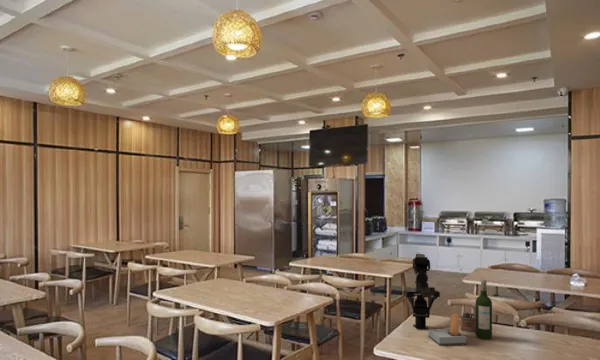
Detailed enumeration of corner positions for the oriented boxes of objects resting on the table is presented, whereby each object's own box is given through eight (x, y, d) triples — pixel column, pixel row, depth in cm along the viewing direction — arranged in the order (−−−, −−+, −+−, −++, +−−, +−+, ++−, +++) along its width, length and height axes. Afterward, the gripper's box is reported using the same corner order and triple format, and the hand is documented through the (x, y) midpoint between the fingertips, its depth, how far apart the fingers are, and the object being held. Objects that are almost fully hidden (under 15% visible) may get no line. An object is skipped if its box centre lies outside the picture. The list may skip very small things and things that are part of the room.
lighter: (460, 330, 226) (460, 312, 226) (460, 328, 229) (460, 310, 229) (475, 333, 222) (475, 314, 222) (476, 331, 225) (476, 312, 225)
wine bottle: (488, 335, 219) (488, 278, 220) (494, 340, 211) (494, 281, 212) (473, 334, 220) (473, 278, 221) (478, 339, 212) (478, 281, 213)
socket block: (428, 337, 215) (428, 329, 215) (454, 336, 217) (454, 328, 217) (439, 345, 203) (439, 337, 203) (466, 344, 205) (466, 336, 205)
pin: (449, 340, 208) (449, 314, 207) (450, 337, 211) (451, 312, 211) (457, 342, 206) (458, 316, 205) (459, 339, 209) (459, 313, 209)
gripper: (410, 283, 211) (410, 314, 210) (445, 283, 213) (444, 313, 213) (402, 279, 222) (402, 308, 221) (435, 279, 224) (435, 307, 224)
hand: (421, 309), depth 219 cm, fingers open, 9 cm apart
